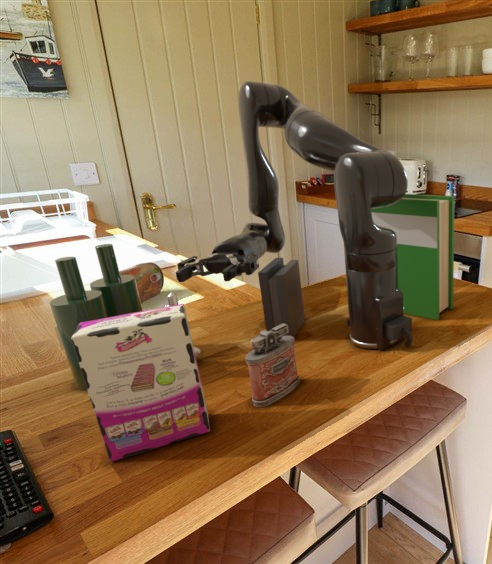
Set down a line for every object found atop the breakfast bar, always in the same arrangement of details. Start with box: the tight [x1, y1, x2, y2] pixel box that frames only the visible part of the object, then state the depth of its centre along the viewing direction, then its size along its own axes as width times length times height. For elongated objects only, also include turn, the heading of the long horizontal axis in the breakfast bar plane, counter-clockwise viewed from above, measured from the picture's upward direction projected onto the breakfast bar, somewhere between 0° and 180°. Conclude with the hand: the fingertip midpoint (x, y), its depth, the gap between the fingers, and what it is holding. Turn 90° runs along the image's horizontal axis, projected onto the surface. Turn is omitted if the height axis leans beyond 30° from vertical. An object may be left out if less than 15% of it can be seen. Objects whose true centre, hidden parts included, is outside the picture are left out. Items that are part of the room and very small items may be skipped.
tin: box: [119, 262, 165, 303], centre depth 101 cm, size 15×3×8 cm, turn 168°
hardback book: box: [371, 193, 455, 321], centre depth 90 cm, size 18×7×24 cm, turn 58°
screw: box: [167, 292, 201, 358], centre depth 69 cm, size 13×5×5 cm
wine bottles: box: [49, 243, 144, 391], centre depth 68 cm, size 14×7×20 cm, turn 178°
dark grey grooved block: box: [257, 257, 306, 338], centre depth 81 cm, size 4×10×14 cm, turn 178°
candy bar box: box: [71, 303, 211, 462], centre depth 51 cm, size 11×5×16 cm, turn 117°
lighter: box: [244, 324, 301, 408], centre depth 61 cm, size 8×3×10 cm, turn 148°
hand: (202, 276), depth 77 cm, fingers open, 8 cm apart
